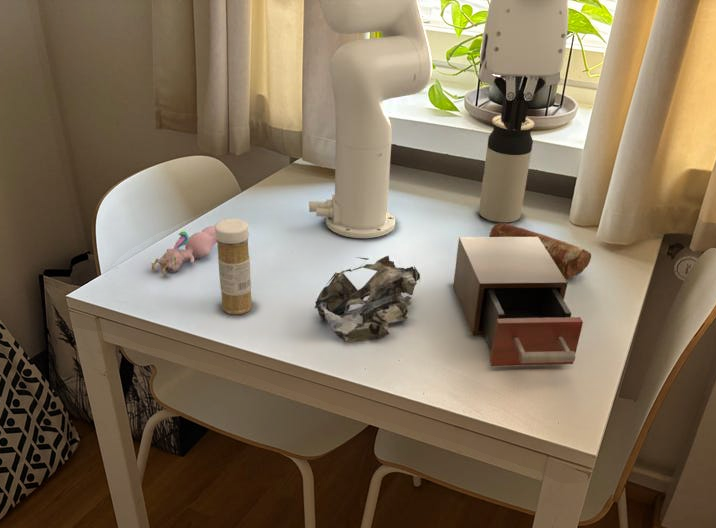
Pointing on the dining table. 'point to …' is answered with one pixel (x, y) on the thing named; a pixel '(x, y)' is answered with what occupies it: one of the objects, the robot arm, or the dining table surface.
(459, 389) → the dining table surface
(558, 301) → the drawer
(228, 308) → the sprinkles bottle
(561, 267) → the bread
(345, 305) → the foil
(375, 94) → the robot arm
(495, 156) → the travel mug
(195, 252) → the rabbit figure
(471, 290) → the wooden drawer cabinet
